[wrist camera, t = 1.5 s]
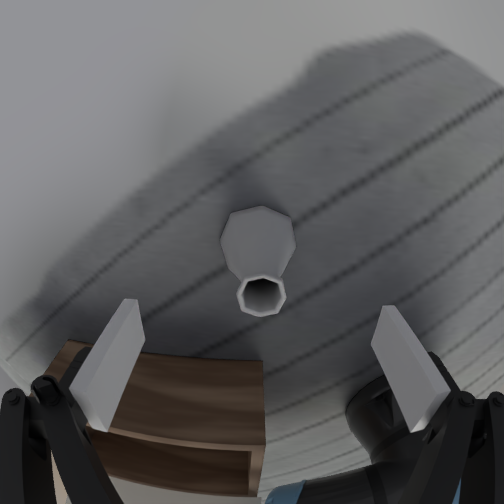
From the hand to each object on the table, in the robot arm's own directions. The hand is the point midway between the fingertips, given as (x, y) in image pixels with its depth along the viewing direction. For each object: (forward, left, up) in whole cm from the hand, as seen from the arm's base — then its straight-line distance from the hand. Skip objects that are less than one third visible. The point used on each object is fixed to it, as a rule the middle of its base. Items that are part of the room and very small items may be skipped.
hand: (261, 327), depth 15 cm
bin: (-23, +12, -14) cm, 29 cm away
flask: (0, 0, -14) cm, 14 cm away
